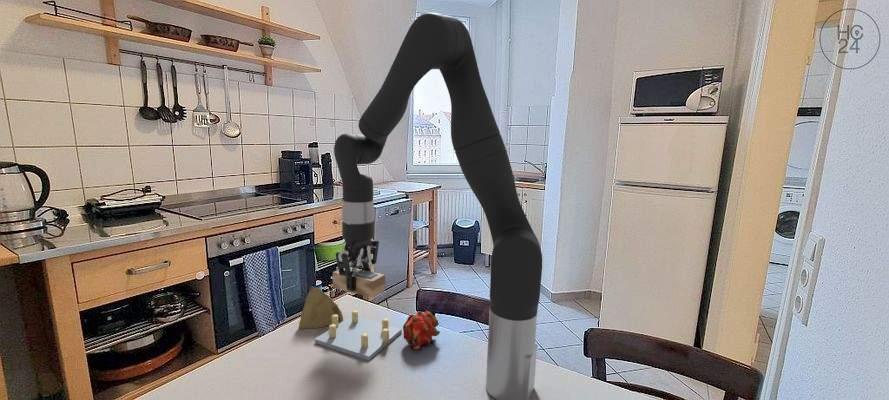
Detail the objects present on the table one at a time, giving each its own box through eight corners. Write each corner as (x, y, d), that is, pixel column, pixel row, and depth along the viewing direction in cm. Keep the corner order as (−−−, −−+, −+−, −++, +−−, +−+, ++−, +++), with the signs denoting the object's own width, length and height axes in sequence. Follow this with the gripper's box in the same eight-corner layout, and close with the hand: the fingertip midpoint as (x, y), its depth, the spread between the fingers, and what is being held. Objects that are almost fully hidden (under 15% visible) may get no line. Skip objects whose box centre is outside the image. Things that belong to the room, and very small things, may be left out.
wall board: (403, 333, 99) (403, 318, 98) (371, 361, 86) (371, 344, 85) (350, 318, 106) (350, 304, 105) (313, 342, 93) (312, 327, 93)
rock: (352, 308, 107) (320, 298, 109) (345, 293, 101) (312, 283, 103) (333, 344, 100) (300, 334, 102) (324, 331, 94) (289, 319, 96)
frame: (385, 290, 93) (385, 273, 93) (372, 297, 89) (372, 280, 88) (346, 281, 99) (346, 265, 98) (332, 287, 94) (332, 271, 93)
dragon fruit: (432, 336, 100) (415, 368, 89) (407, 316, 101) (387, 345, 90) (450, 317, 97) (434, 348, 86) (424, 296, 97) (405, 324, 86)
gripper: (363, 212, 99) (364, 274, 102) (324, 222, 86) (326, 294, 89) (388, 215, 96) (388, 279, 98) (351, 227, 83) (352, 300, 86)
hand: (358, 286), depth 94 cm, fingers closed on frame, 5 cm apart
